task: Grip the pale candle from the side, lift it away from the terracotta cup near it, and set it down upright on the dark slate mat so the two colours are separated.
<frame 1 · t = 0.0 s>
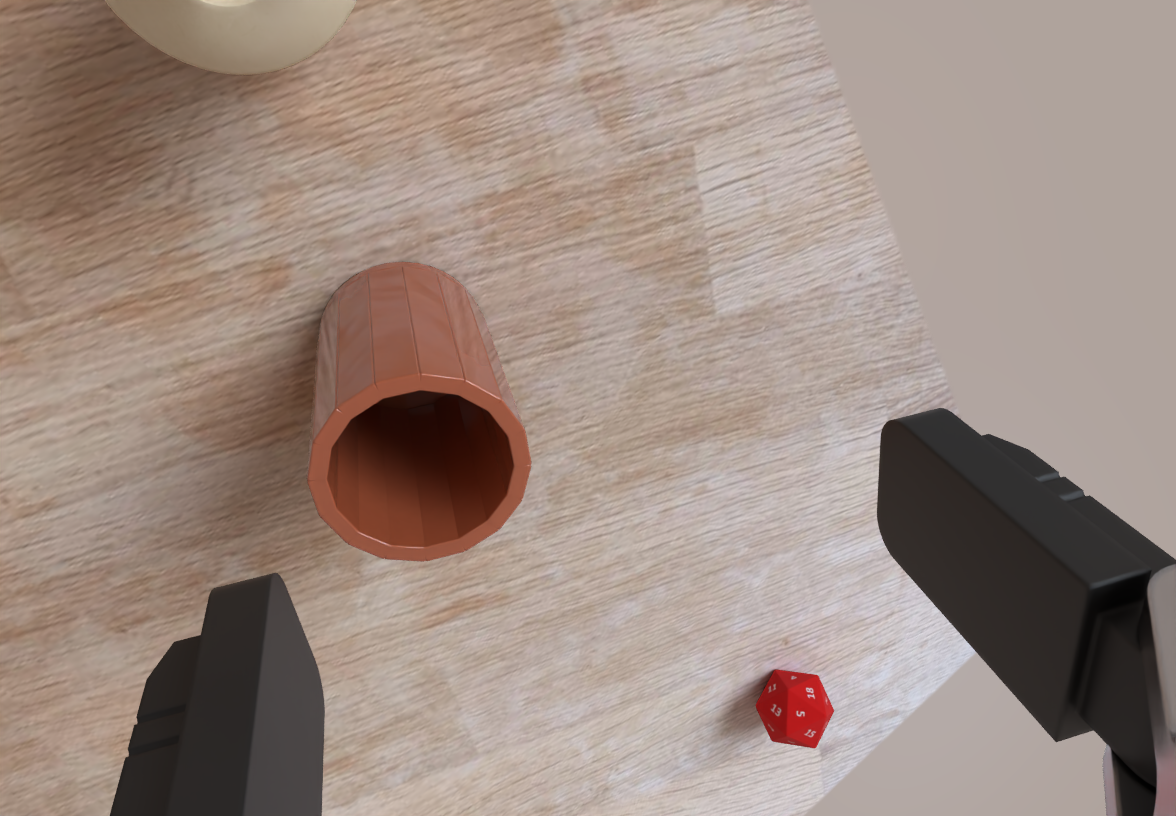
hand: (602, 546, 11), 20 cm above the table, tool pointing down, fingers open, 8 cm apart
die: (779, 681, 44), on the table
terracotta cup: (404, 339, 31), on the table
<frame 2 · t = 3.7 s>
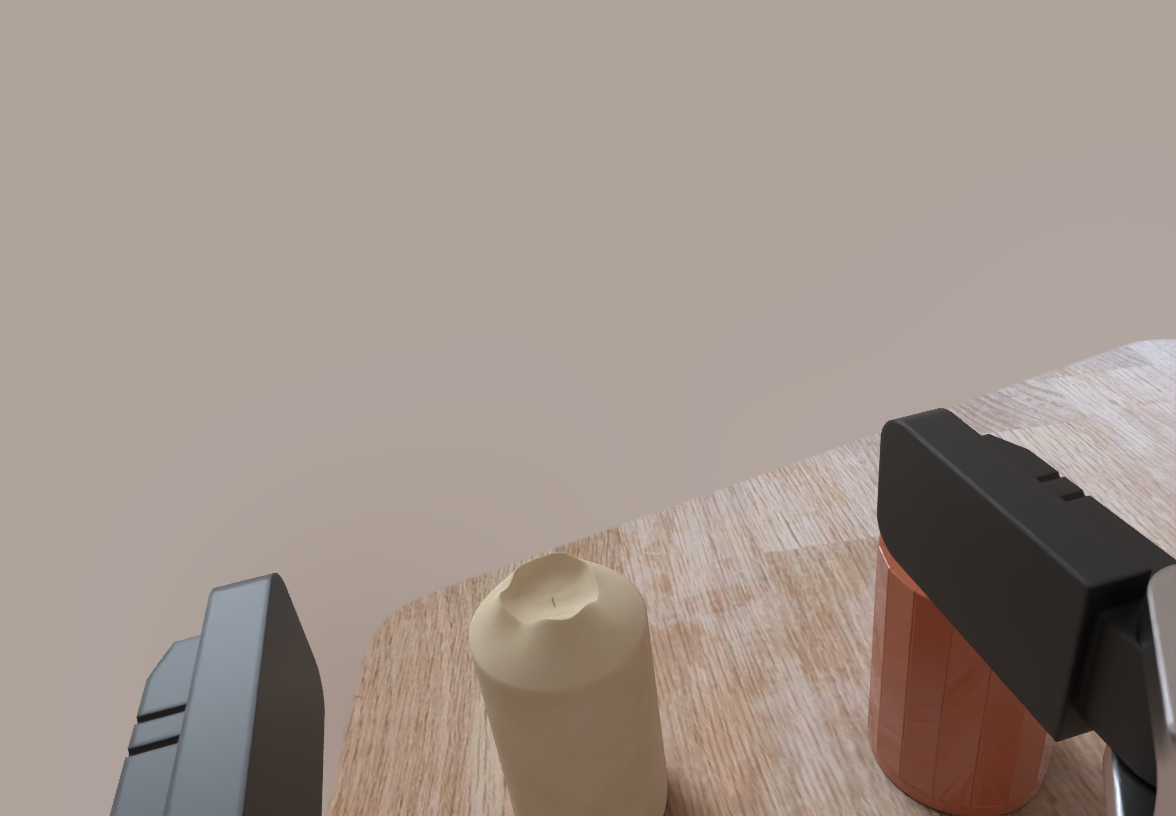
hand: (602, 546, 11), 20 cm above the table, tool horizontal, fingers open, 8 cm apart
candle: (592, 800, 31), on the table
terracotta cup: (954, 743, 31), on the table
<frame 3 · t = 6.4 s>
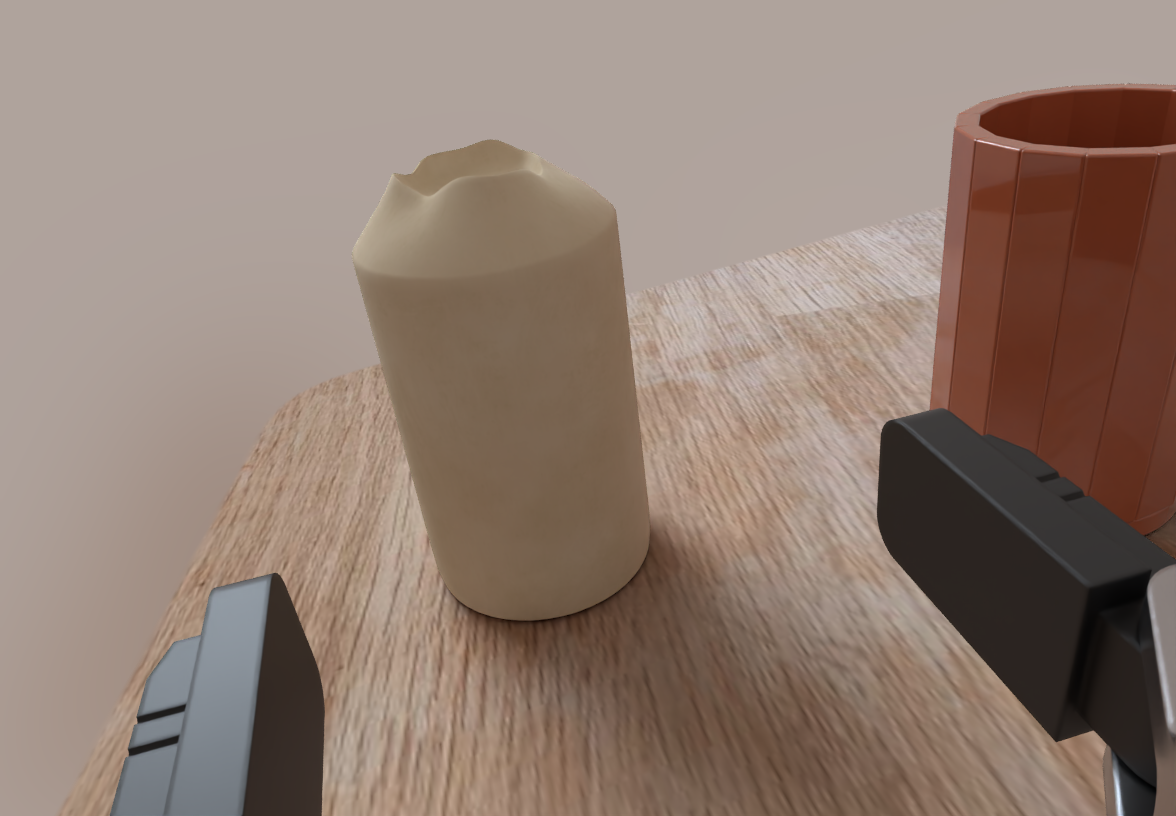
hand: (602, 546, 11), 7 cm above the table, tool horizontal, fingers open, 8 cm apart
candle: (546, 553, 22), on the table
terracotta cup: (1046, 473, 22), on the table
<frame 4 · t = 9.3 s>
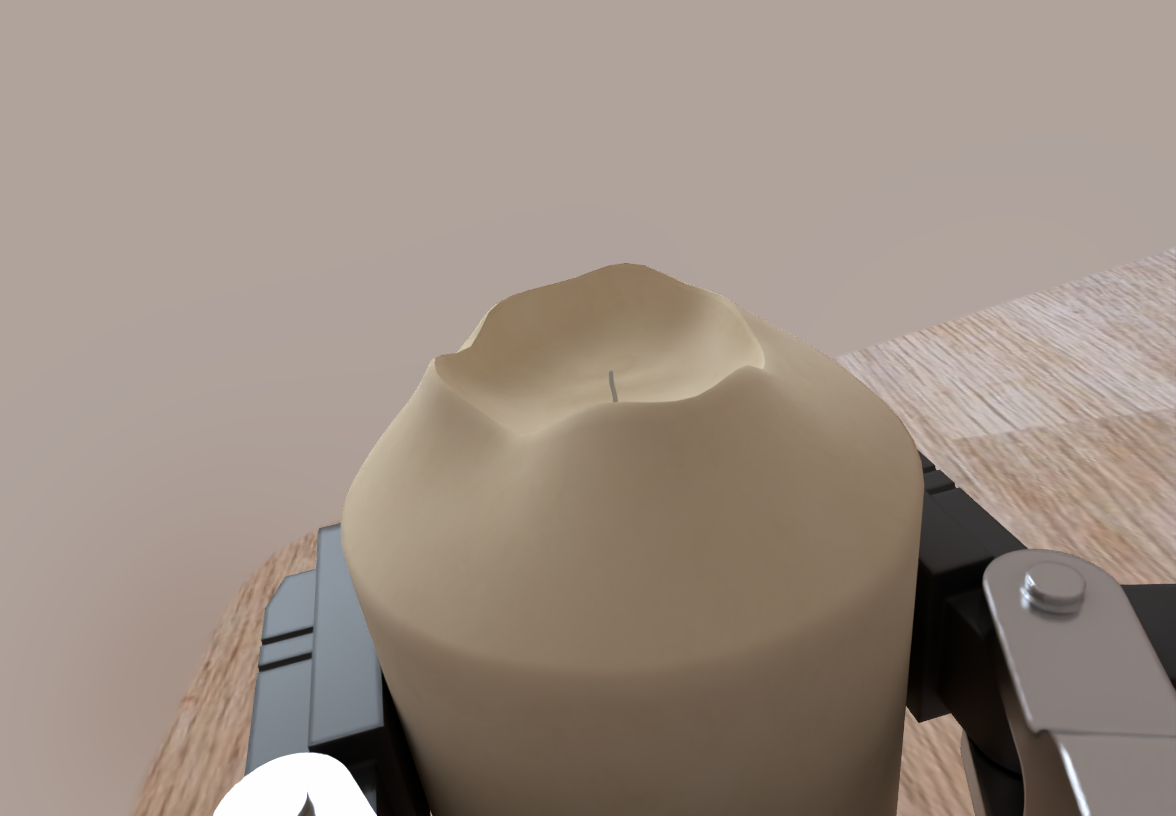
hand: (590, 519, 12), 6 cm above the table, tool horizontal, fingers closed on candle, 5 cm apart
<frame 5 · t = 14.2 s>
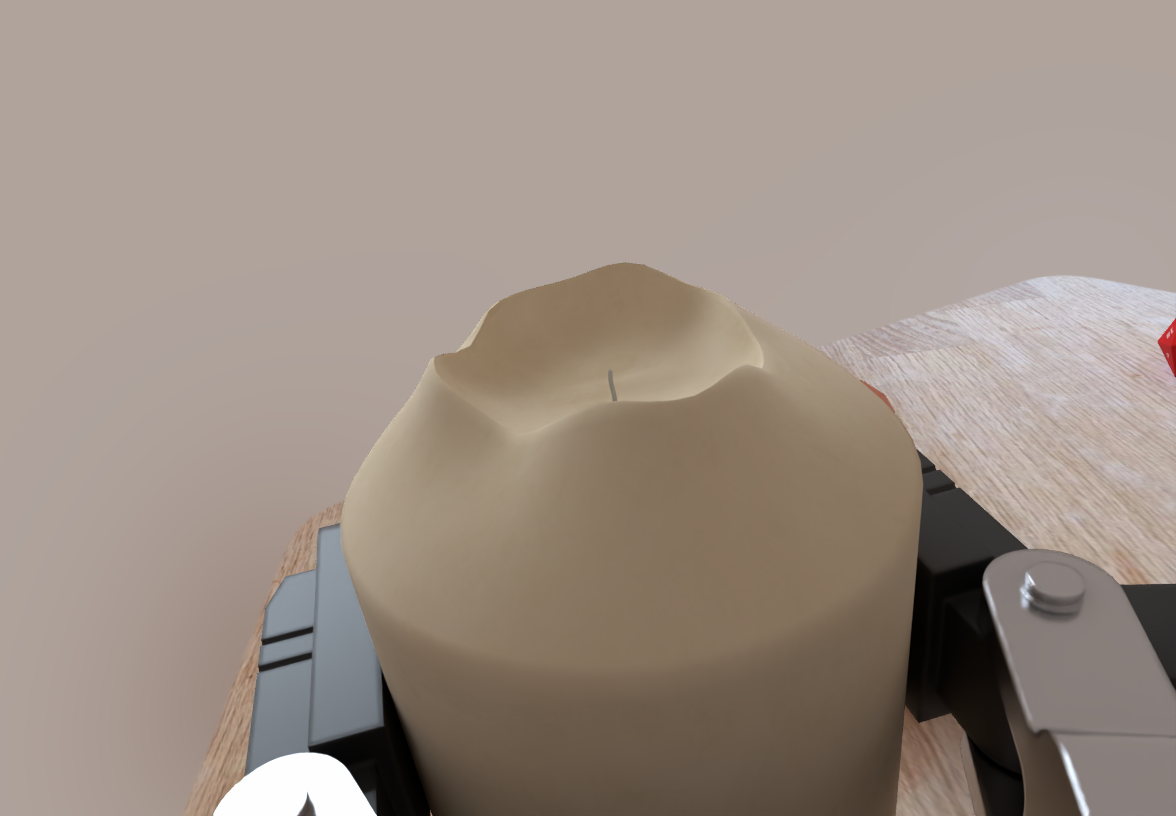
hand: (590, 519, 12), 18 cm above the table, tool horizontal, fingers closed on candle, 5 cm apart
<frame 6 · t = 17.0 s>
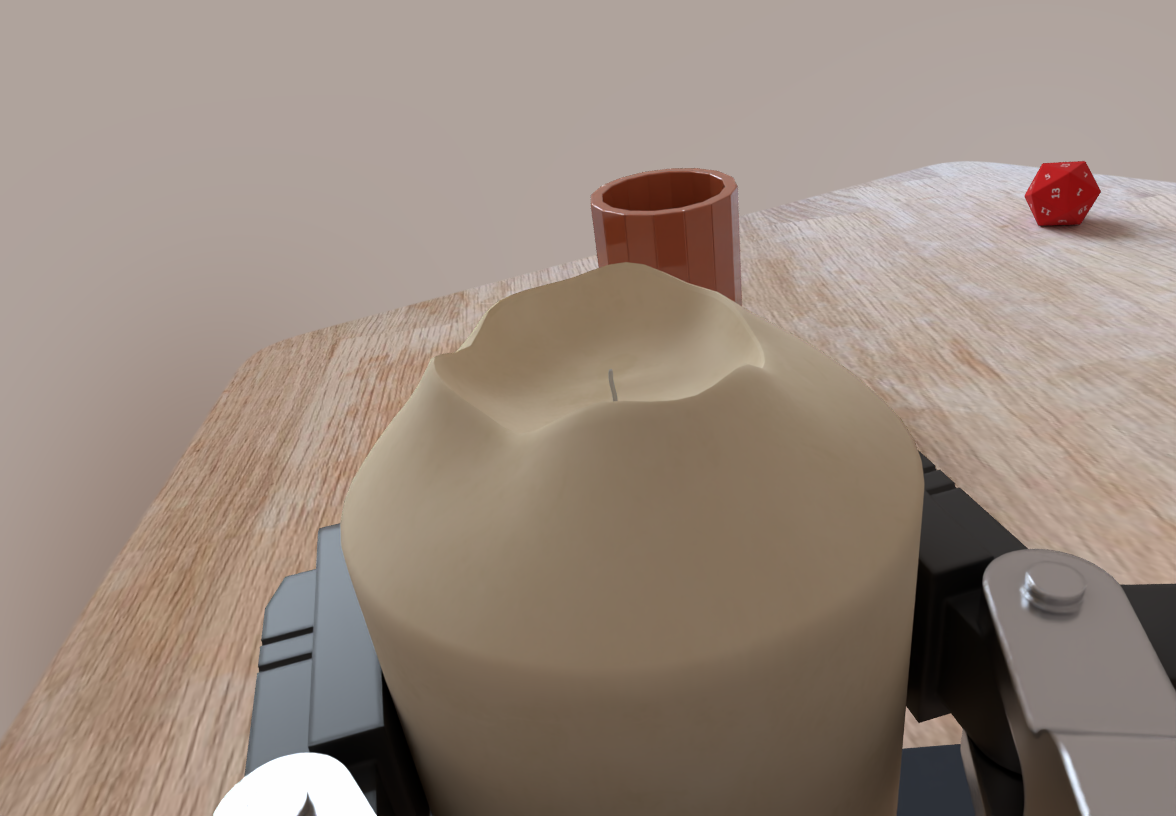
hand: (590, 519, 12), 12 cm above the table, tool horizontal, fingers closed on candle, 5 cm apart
die: (1056, 224, 50), on the table
terracotta cup: (678, 385, 39), on the table
when the fingers open (7 cm above the table, at t = 19.1 s): candle stays where it is, resting on slate mat.
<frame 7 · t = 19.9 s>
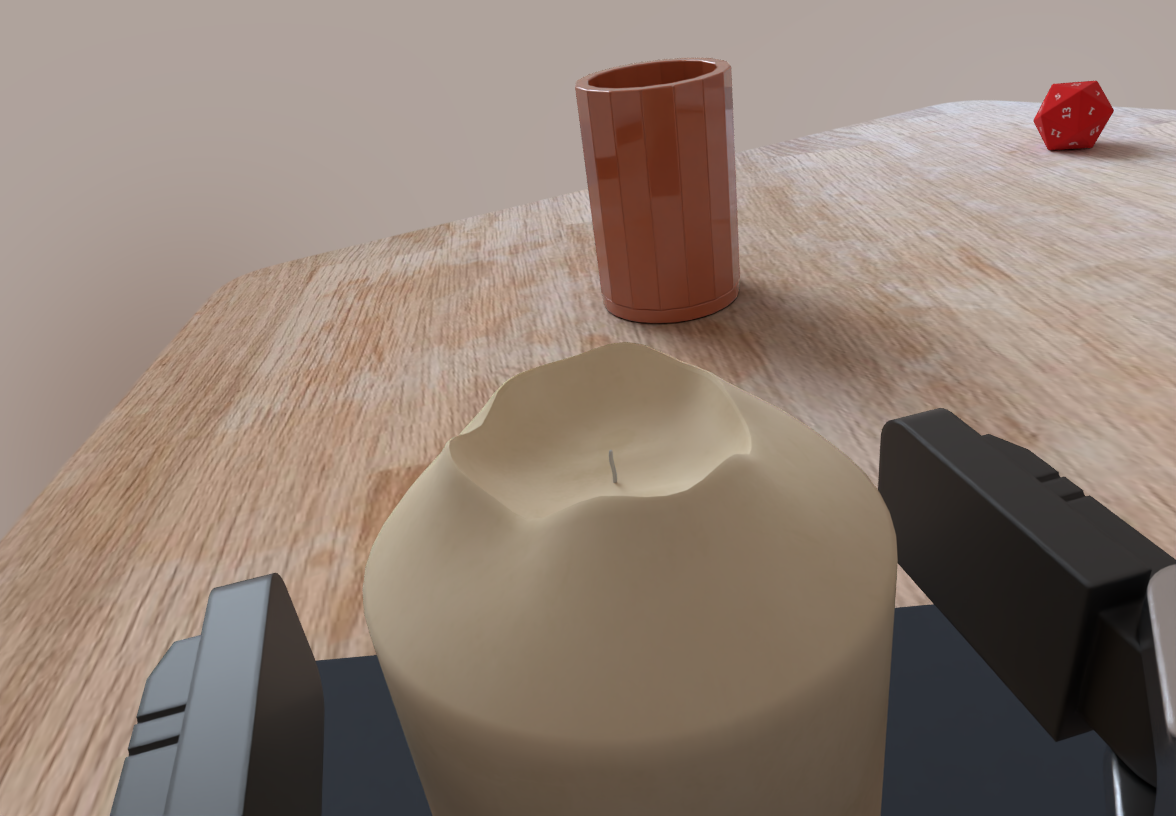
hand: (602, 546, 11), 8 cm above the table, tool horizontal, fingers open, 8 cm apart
die: (1067, 149, 48), on the table
terracotta cup: (670, 294, 37), on the table
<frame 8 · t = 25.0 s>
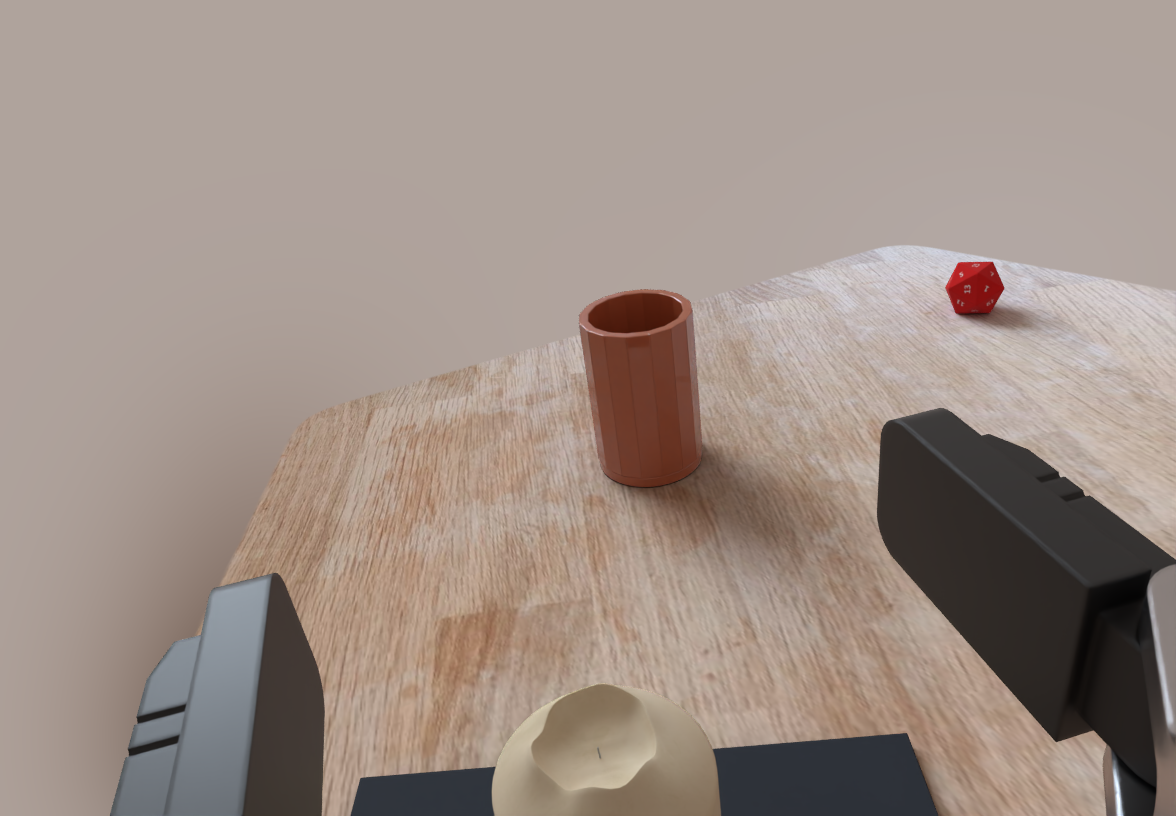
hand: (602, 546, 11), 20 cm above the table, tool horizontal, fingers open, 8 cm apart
die: (971, 312, 60), on the table
terracotta cup: (650, 457, 49), on the table
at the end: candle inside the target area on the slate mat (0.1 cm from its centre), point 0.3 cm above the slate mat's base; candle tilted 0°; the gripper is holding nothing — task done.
